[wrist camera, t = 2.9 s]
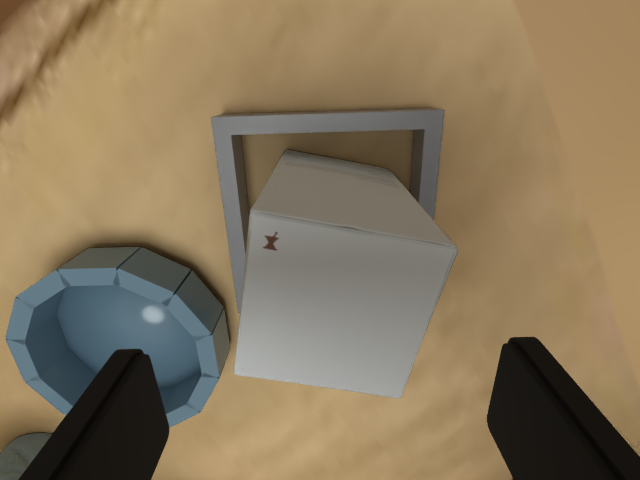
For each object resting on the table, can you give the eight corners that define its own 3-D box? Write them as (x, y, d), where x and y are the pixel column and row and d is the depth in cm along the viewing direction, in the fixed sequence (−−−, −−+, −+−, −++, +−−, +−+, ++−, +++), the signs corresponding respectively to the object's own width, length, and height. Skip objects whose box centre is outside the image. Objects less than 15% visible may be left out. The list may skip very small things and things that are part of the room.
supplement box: (268, 248, 26) (224, 377, 14) (284, 146, 23) (246, 203, 12) (367, 267, 27) (402, 406, 15) (395, 168, 24) (464, 245, 12)
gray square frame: (431, 107, 22) (444, 109, 20) (416, 290, 27) (424, 309, 25) (222, 114, 23) (210, 117, 20) (245, 294, 28) (238, 313, 25)
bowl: (217, 240, 26) (199, 265, 22) (239, 389, 31) (228, 430, 28) (24, 245, 26) (-26, 271, 22) (79, 392, 31) (47, 433, 28)
